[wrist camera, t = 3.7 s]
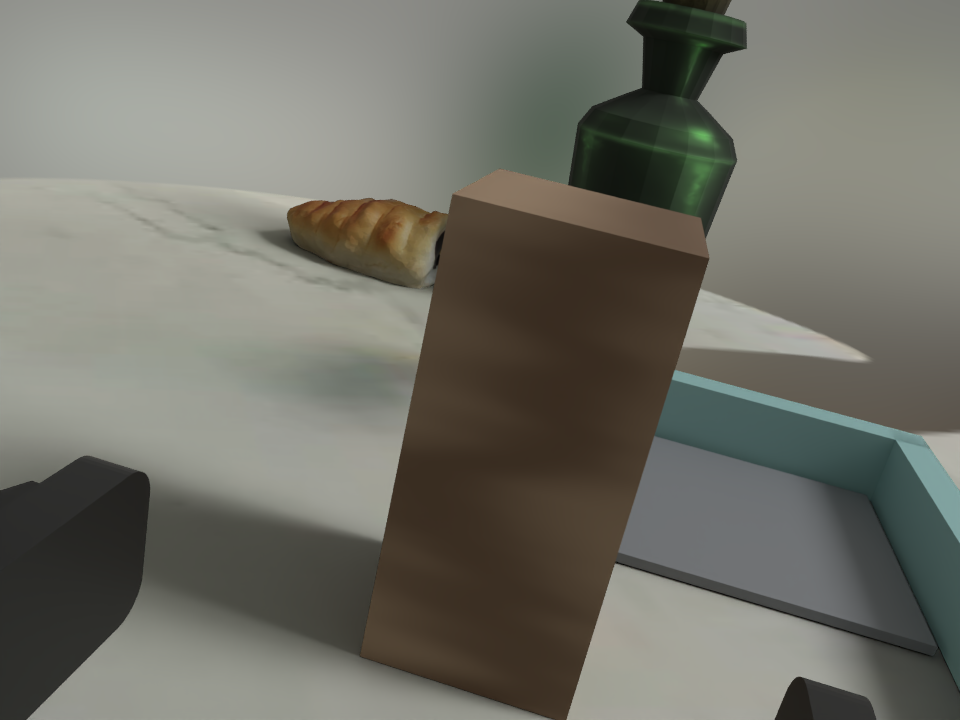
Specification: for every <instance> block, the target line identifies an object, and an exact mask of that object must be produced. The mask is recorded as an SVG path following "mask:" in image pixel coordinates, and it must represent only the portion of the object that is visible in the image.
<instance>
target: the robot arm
mask: <svg viewBox="0 0 960 720" xmlns="http://www.w3.org/2000/svg"><path fill="white" fill-rule="evenodd" d="M149 497H150V483H149V479H148V477H147V475H146V474H145V473H143V472H140V471H137V470H134V469H131V468H127V467H124V466H121V465H118V464H114V463H111V462H108V461H105V460H101V459H98V458H95V457H92V456H83V457H80V458H79V459H77V460H75V461H74V462H72V463H70V464H69V465H67V466H66V467H64V468H63V469H61V470H60V471H58V472H57V473H55V474H54V475H52V476H50V477H49V478H47V479H46V480H44V481H43V482H41V483H37V482H34V481H29V482H26V483H23V484H20V485H17V486H13V487H10V488H7V489H4V490H0V720H26V719H27V718H28V717H29V716H30V715H31V714H32V713H33V712H34V711H35V710H36V709H37V708H38V707H39V706H40V705H41V704H42V703H43V702H44V701H45V700H46V699H47V698H48V697H49V696H50V695H51V694H52V693H53V692H54V691H55V690H56V689H57V688H58V687H59V686H60V685H61V684H62V683H63V682H64V681H65V680H66V679H67V678H68V677H69V676H70V675H71V674H72V673H73V672H74V671H75V670H76V669H77V668H78V667H79V666H80V665H81V664H82V663H83V662H84V661H85V660H86V659H87V658H88V657H89V656H90V655H91V654H92V653H93V652H94V651H95V650H96V649H97V648H98V647H99V646H100V645H101V644H102V643H103V642H104V641H105V640H106V639H107V638H108V637H109V636H110V635H111V634H112V633H113V632H114V631H115V630H116V629H117V628H118V627H119V626H120V625H121V624H122V623H123V621H124V620H125V618H126V617H127V615H128V614H129V612H130V610H131V608H132V607H133V604H134V602H135V600H136V598H137V595H138V592H139V589H140V585H141V581H142V575H143V563H144V552H145V541H146V530H147V519H148V508H149ZM775 720H876V717H875V714H874V711H873V707H872V705H871V703H870V701H869V700H868V699H867V698H866V697H864V696H861V695H858V694H854V693H851V692H848V691H845V690H841V689H838V688H835V687H832V686H828V685H825V684H822V683H819V682H815V681H812V680H809V679H806V678H802V677H796V678H795V679H794V680H793V681H792V682H791V684H790V686H789V687H788V689H787V691H786V694H785V696H784V698H783V701H782V703H781V706H780V708H779V710H778V713H777V715H776V717H775Z"/></svg>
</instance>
